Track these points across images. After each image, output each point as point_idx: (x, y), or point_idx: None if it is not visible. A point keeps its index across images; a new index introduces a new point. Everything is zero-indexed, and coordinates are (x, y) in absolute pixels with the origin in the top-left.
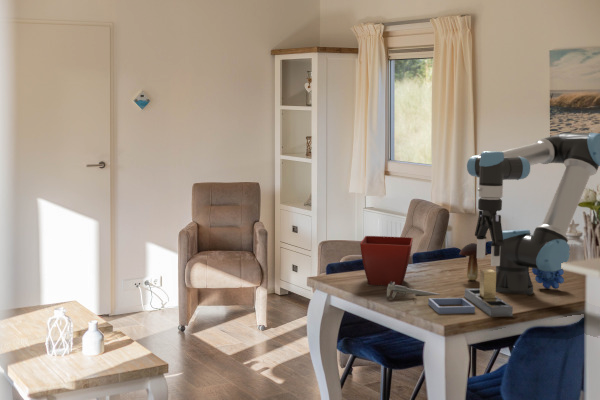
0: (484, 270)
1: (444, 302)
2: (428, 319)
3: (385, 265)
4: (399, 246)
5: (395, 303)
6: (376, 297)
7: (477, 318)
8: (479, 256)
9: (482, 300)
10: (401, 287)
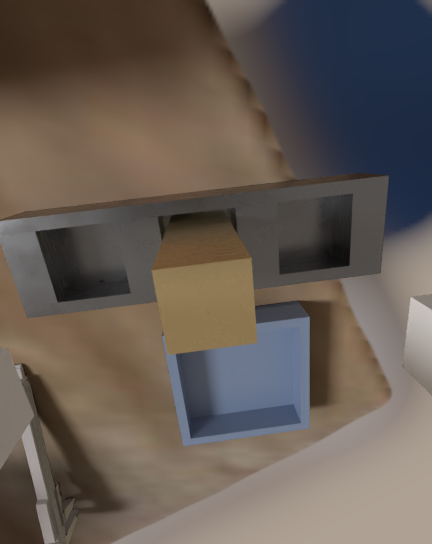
0: (196, 332)
1: (183, 389)
2: (326, 429)
3: None
4: None
5: (143, 494)
6: (74, 533)
7: (330, 297)
8: (14, 413)
9: (262, 284)
10: (52, 519)
